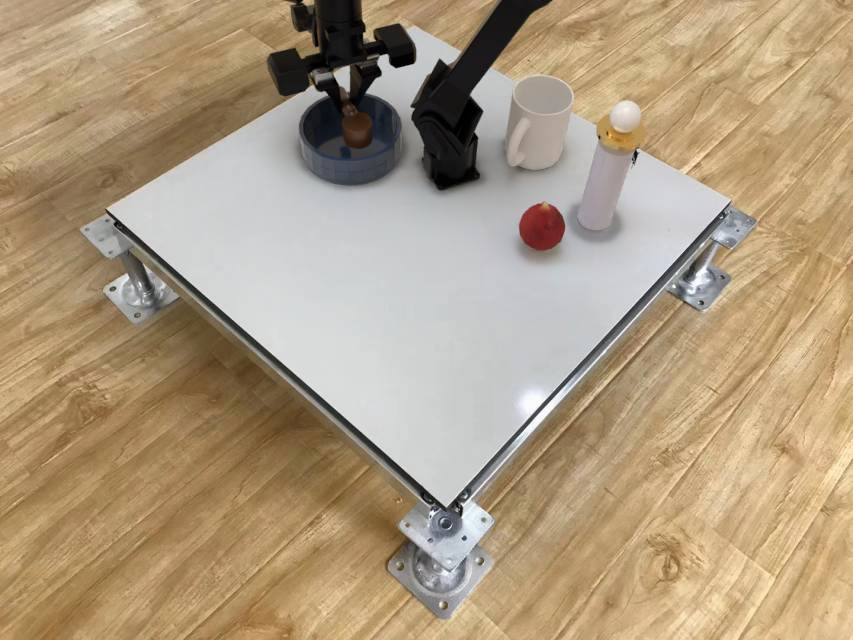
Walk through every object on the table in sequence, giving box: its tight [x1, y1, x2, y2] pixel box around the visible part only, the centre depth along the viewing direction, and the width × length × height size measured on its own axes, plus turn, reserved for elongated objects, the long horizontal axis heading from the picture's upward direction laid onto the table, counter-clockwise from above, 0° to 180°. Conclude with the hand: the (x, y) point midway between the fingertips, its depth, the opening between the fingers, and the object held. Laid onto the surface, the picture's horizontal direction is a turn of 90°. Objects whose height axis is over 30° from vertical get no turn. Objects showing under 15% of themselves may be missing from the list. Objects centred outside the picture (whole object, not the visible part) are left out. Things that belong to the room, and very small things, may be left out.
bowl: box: [298, 91, 403, 186], centre depth 108 cm, size 14×14×4 cm
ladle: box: [339, 85, 373, 149], centre depth 105 cm, size 10×4×3 cm, turn 23°
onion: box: [518, 201, 566, 252], centre depth 98 cm, size 6×6×8 cm
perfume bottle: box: [576, 99, 647, 231], centre depth 95 cm, size 6×6×20 cm
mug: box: [504, 74, 575, 171], centre depth 106 cm, size 12×8×10 cm
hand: (346, 110), depth 106 cm, fingers closed on ladle, 2 cm apart
